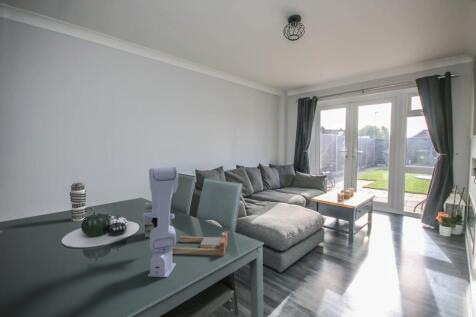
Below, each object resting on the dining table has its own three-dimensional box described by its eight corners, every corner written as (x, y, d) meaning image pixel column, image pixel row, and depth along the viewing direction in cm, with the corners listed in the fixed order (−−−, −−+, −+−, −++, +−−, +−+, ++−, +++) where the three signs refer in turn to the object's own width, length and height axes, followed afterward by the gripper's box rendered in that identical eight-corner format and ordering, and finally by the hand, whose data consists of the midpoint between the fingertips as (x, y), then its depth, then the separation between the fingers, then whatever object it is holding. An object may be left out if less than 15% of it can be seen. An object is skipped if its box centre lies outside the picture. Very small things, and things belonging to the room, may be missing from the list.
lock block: (220, 253, 105) (220, 245, 104) (200, 252, 105) (200, 244, 105) (223, 245, 113) (223, 237, 112) (204, 244, 113) (204, 237, 113)
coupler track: (223, 256, 101) (223, 243, 101) (170, 253, 103) (170, 241, 103) (227, 242, 116) (227, 231, 115) (181, 240, 118) (180, 229, 117)
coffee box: (155, 238, 121) (154, 209, 120) (144, 237, 122) (143, 208, 121) (163, 231, 130) (163, 204, 129) (153, 230, 131) (153, 204, 130)
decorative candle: (72, 217, 154) (71, 182, 152) (88, 216, 158) (87, 181, 156) (69, 222, 146) (67, 184, 144) (85, 220, 149) (84, 183, 148)
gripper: (176, 202, 107) (176, 230, 108) (147, 202, 108) (148, 229, 109) (170, 207, 100) (171, 236, 101) (140, 206, 101) (141, 235, 102)
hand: (159, 232), depth 104 cm, fingers closed
